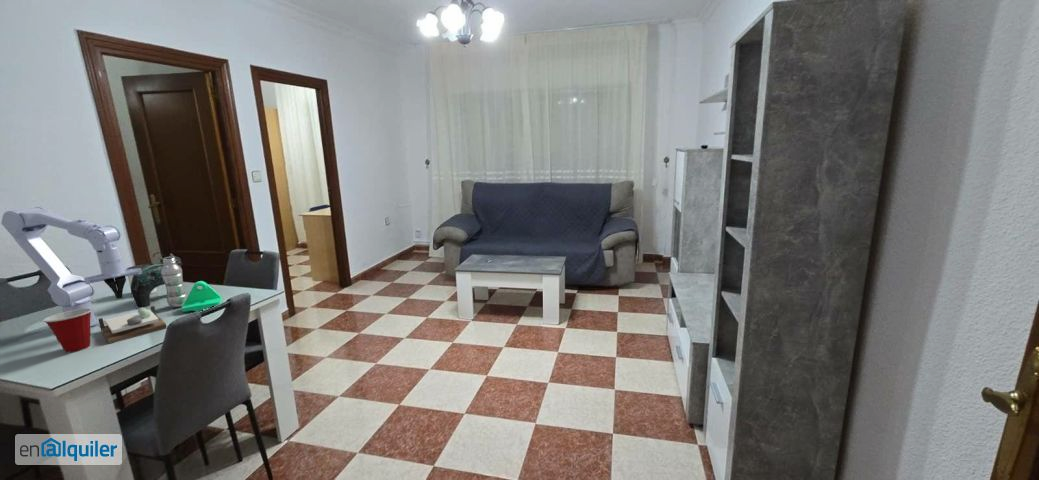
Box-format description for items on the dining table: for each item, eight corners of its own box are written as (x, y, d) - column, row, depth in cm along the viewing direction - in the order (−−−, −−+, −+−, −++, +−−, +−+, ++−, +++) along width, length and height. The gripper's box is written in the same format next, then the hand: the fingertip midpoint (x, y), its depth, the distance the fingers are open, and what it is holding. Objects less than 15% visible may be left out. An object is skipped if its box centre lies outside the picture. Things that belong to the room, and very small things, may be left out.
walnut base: (101, 331, 147) (97, 318, 146) (156, 317, 158) (153, 305, 157) (108, 343, 137) (105, 330, 136) (166, 328, 149) (164, 315, 147)
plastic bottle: (192, 305, 170) (182, 257, 165) (172, 310, 164) (161, 261, 160) (185, 302, 173) (176, 255, 169) (165, 307, 168) (155, 259, 163)
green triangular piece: (182, 314, 161) (176, 289, 158) (186, 308, 167) (180, 283, 165) (220, 308, 166) (215, 283, 164) (222, 302, 173) (217, 278, 170)
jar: (134, 292, 186) (127, 266, 183) (158, 288, 190) (152, 263, 188) (131, 298, 179) (124, 271, 176) (155, 293, 183) (149, 267, 181)
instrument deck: (105, 321, 147) (102, 312, 146) (149, 311, 156) (147, 302, 155) (112, 333, 138) (110, 324, 137) (159, 321, 147) (157, 312, 146)
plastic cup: (94, 337, 142) (85, 304, 139) (106, 344, 137) (97, 310, 134) (48, 351, 133) (37, 315, 130) (58, 359, 128) (48, 322, 125)
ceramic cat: (180, 291, 187) (170, 247, 182) (192, 291, 185) (183, 248, 181) (131, 308, 168) (120, 260, 163) (144, 309, 166) (133, 260, 162)
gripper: (82, 268, 138) (92, 306, 141) (140, 258, 149) (148, 294, 152) (79, 264, 142) (89, 302, 146) (135, 255, 153) (144, 290, 157)
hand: (119, 297), depth 149 cm, fingers closed
